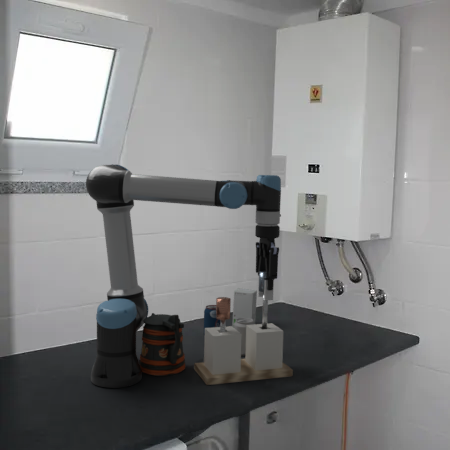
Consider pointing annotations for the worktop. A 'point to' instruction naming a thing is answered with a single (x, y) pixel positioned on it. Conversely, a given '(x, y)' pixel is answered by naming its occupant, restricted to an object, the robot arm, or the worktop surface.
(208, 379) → the base board
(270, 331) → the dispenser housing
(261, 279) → the plunger
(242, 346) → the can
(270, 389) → the worktop surface
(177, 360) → the beer stein
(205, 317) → the soda can
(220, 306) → the plunger
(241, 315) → the skincare box
